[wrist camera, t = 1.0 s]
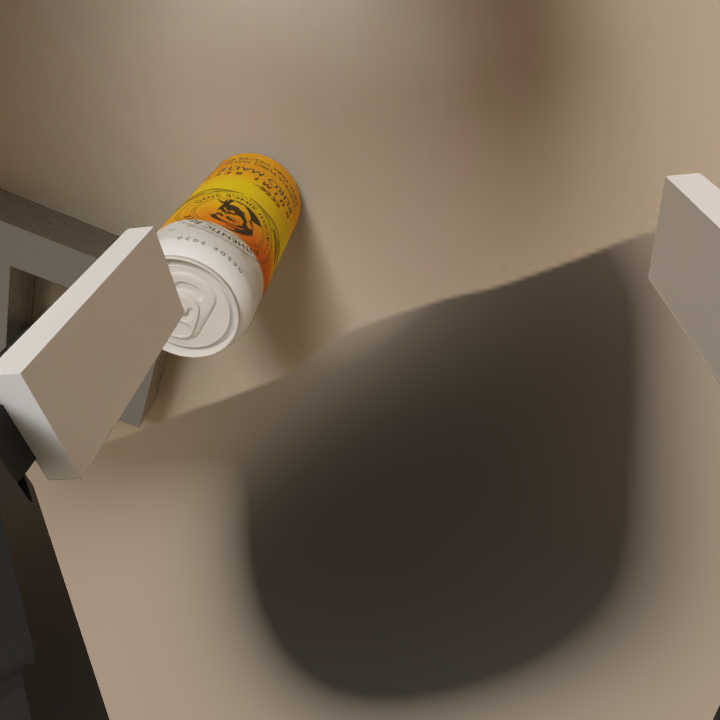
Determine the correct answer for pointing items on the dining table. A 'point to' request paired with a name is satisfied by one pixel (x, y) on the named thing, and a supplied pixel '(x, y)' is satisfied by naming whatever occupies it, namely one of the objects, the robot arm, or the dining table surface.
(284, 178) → the beer can
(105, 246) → the collar
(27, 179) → the dining table surface
